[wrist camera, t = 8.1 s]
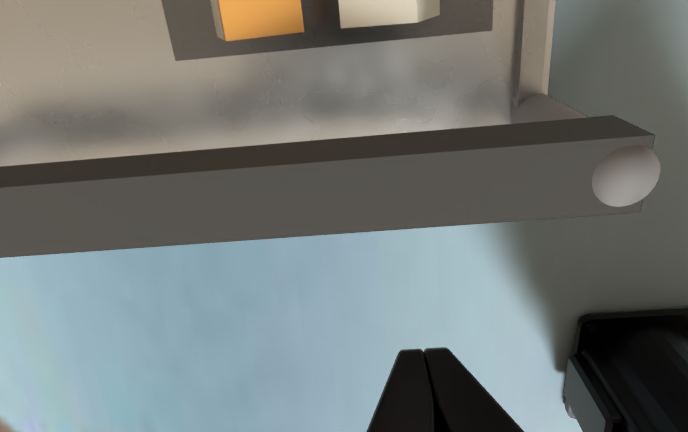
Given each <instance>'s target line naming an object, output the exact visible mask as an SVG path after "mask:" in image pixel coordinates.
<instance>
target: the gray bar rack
mask: <svg viewBox="0 0 688 432" xmlns="http://www.w3.org/2000/svg"><path fill="white" fill-rule="evenodd" d="M511 123H512V124H504V125H492V126H480V127H468V128H456V129H444V130H432V131H420V132H408V133H396V134H384V135H372V136H360V137H348V138H336V139H324V140H312V141H300V142H288V143H276V144H265V145H253V146H241V147H229V148H217V149H205V150H193V151H181V152H169V153H157V154H145V155H133V156H121V157H109V158H97V159H85V160H73V161H61V162H49V163H37V164H25V165H13V166H1V167H0V258H3V257H17V256H31V255H46V254H60V253H74V252H88V251H102V250H116V249H130V248H144V247H159V246H173V245H187V244H201V243H215V242H229V241H243V240H258V239H272V238H286V237H300V236H314V235H328V234H342V233H356V232H371V231H385V230H399V229H413V228H427V227H441V226H455V225H469V224H484V223H498V222H512V221H526V220H540V219H554V218H568V217H582V216H597V215H611V214H625V213H639V212H640V211H641V205H642V200H643V198H644V197H646V196H647V195H648V194H649V193H650V192H651V191H652V190H653V188H654V187H655V185H656V184H657V182H658V179H659V176H660V171H661V166H660V161H659V159H658V157H657V155H656V154H655V153H654V152H653V151H652V147H653V142H654V137H655V135H654V134H652V133H649V132H647V131H645V130H643V129H641V128H639V127H637V126H634V125H632V124H630V123H628V122H626V121H624V120H622V119H620V118H617V117H615V116H613V115H612V116H600V117H588V116H586V115H584V114H582V113H580V112H578V111H576V110H575V109H573V108H571V107H569V106H567V105H565V104H563V103H561V102H559V101H557V100H555V99H554V98H552V97H550V96H548V95H546V94H544V93H542V94H539V95H534V96H531V97H529V98H527V99H526V100H524V101H523V102H522V103H521V104H520V106H519V107H516V106H515V105H513V107H512V110H511Z"/></svg>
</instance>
